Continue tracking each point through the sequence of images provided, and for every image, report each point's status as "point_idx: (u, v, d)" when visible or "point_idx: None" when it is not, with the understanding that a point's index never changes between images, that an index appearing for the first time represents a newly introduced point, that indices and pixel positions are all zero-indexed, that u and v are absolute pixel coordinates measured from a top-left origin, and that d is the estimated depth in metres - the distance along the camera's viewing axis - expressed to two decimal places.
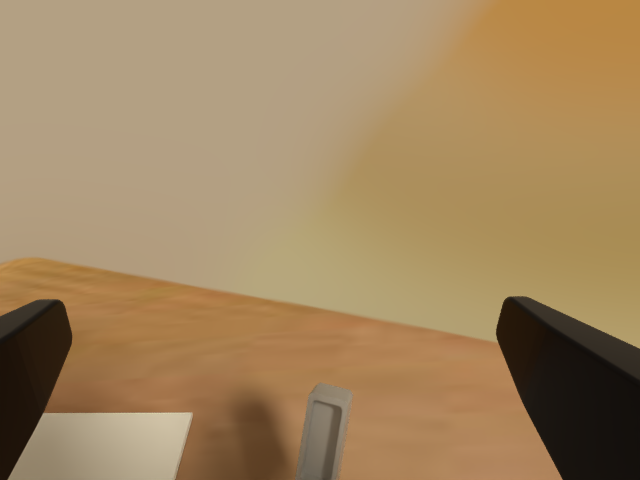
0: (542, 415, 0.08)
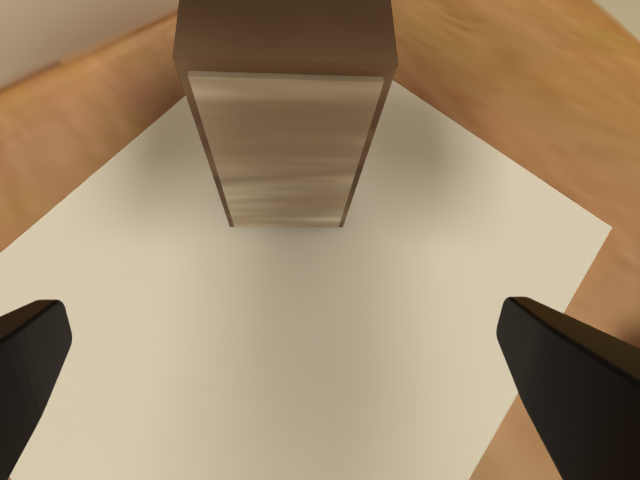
0: (542, 415, 0.08)
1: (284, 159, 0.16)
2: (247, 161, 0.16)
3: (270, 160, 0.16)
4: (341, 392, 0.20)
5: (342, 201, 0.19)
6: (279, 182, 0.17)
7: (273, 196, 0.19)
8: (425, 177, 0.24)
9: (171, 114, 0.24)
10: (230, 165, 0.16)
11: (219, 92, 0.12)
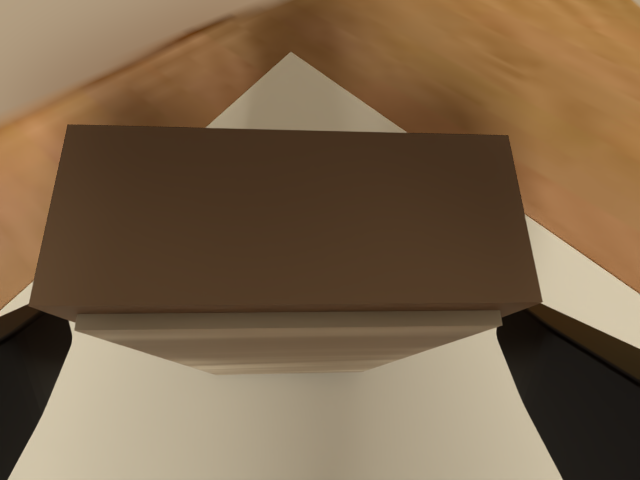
0: (542, 415, 0.08)
1: (287, 357, 0.09)
2: (225, 359, 0.09)
3: (264, 358, 0.09)
4: None
5: (373, 366, 0.13)
6: (278, 363, 0.11)
7: (270, 367, 0.12)
8: None
9: None
10: (197, 360, 0.10)
11: (153, 336, 0.06)
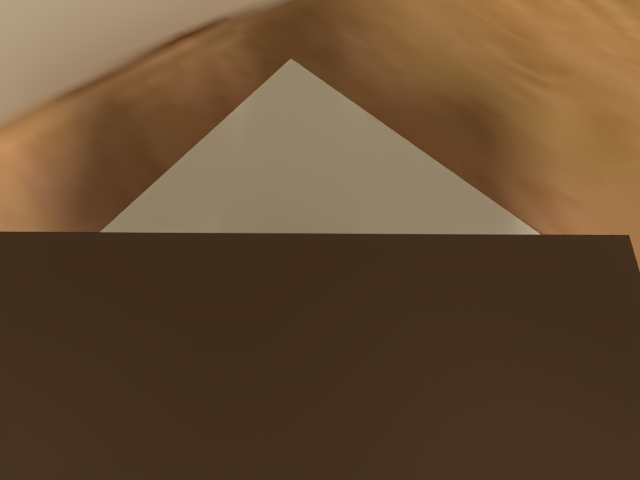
0: None
1: None
2: None
3: None
4: None
5: None
6: None
7: None
8: None
9: (113, 231, 0.16)
10: None
11: None
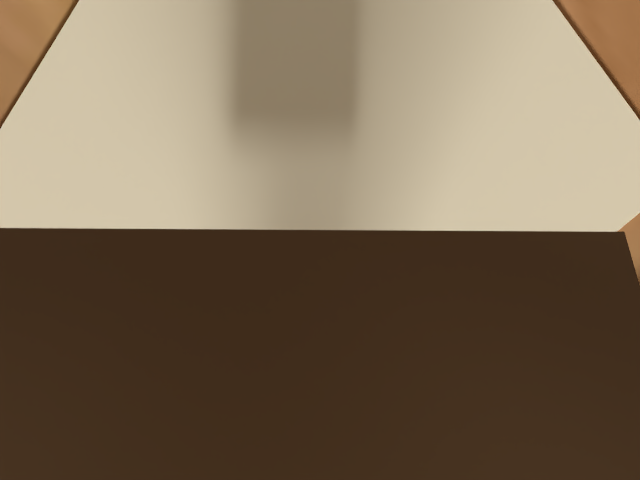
0: None
1: None
2: None
3: None
4: None
5: None
6: None
7: None
8: (478, 103, 0.18)
9: None
10: None
11: None
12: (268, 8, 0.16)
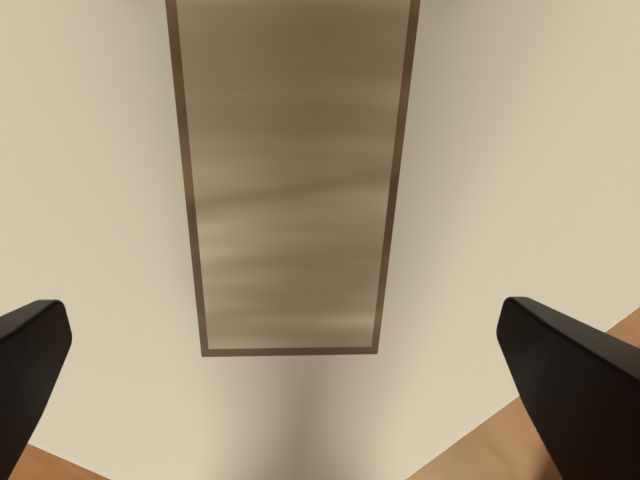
0: (542, 415, 0.08)
1: (289, 144, 0.11)
2: (237, 150, 0.11)
3: (270, 147, 0.11)
4: (348, 382, 0.18)
5: (374, 263, 0.13)
6: (281, 209, 0.12)
7: (272, 250, 0.12)
8: (533, 113, 0.14)
9: None
10: (212, 161, 0.11)
11: None
12: None
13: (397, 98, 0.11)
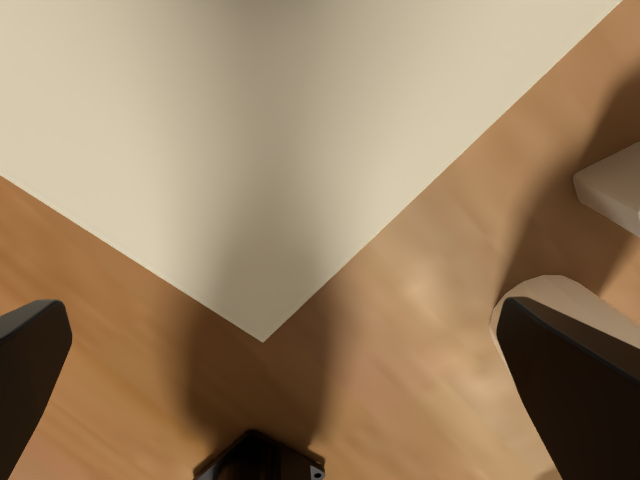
0: (542, 415, 0.08)
1: None
2: None
3: None
4: (310, 92, 0.17)
5: None
6: None
7: None
8: None
9: None
10: None
11: None
12: None
13: None
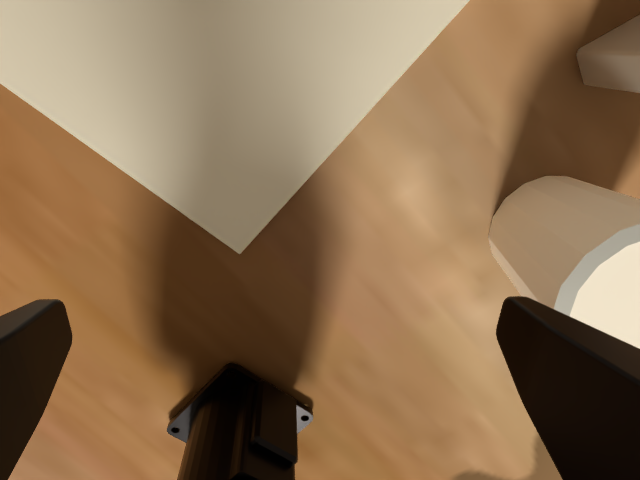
0: (542, 415, 0.08)
1: None
2: None
3: None
4: None
5: None
6: None
7: None
8: None
9: None
10: None
11: None
12: None
13: None
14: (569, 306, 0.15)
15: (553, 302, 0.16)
